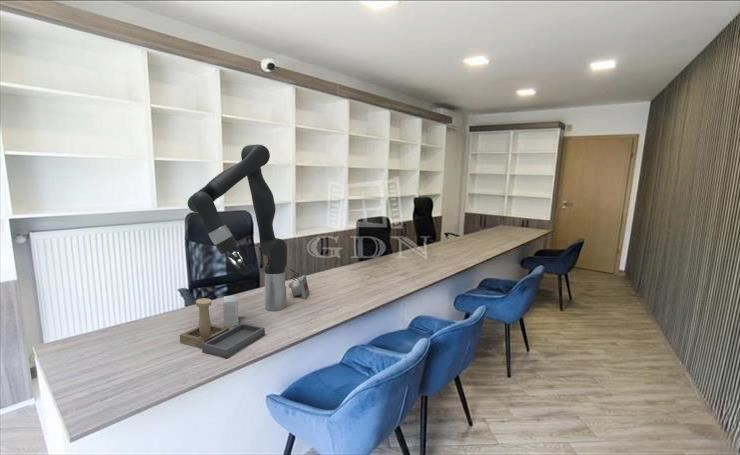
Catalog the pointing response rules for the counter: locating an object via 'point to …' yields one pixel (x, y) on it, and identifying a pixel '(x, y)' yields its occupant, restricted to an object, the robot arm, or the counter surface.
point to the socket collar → (193, 334)
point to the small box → (230, 310)
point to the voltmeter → (299, 286)
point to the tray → (233, 340)
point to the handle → (204, 317)
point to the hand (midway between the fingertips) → (245, 273)
